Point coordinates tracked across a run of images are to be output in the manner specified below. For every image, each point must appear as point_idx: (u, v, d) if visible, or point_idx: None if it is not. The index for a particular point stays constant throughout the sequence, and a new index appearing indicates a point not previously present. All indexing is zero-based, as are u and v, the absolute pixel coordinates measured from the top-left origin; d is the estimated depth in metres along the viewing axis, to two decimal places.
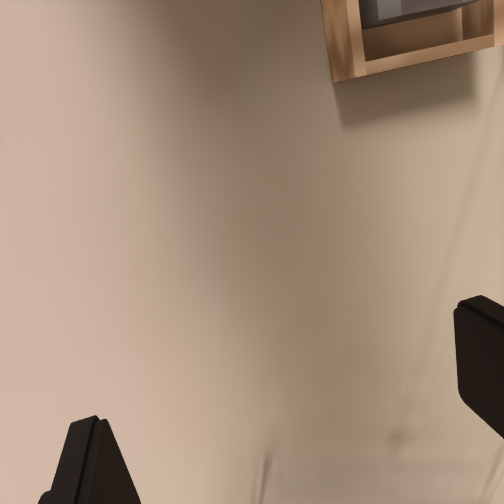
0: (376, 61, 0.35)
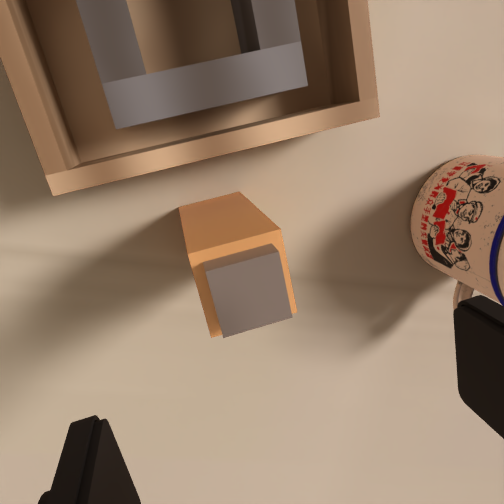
0: None
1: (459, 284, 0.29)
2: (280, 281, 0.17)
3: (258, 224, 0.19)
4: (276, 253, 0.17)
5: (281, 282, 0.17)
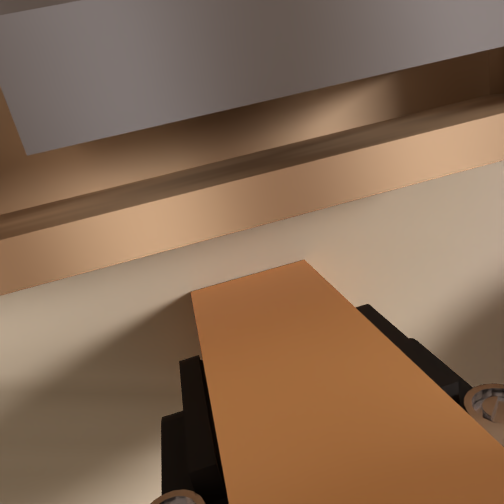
0: None
1: None
2: None
3: (443, 437, 0.06)
4: None
5: None
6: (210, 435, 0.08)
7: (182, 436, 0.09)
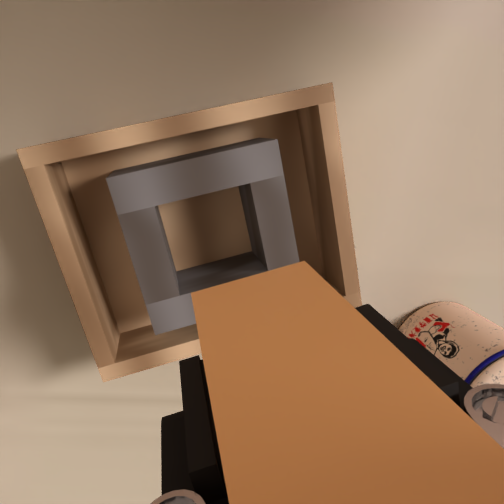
0: (47, 184, 0.22)
1: None
2: None
3: (443, 439, 0.06)
4: None
5: None
6: (210, 435, 0.08)
7: (182, 436, 0.09)
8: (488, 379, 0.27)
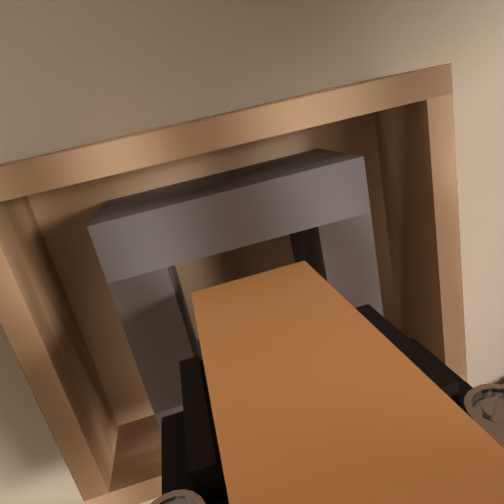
0: None
1: None
2: None
3: (444, 439, 0.06)
4: None
5: None
6: (210, 435, 0.08)
7: (182, 436, 0.09)
8: None
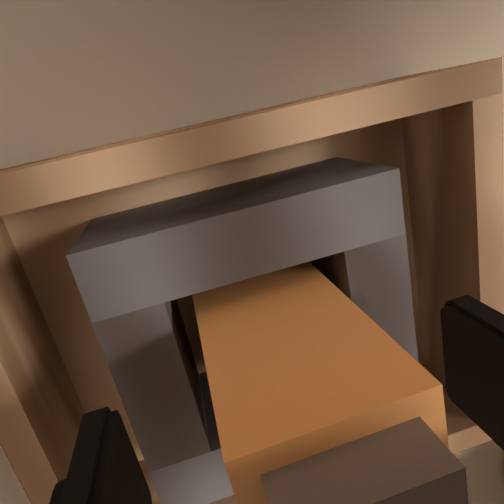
0: None
1: None
2: None
3: (369, 351, 0.09)
4: (458, 473, 0.06)
5: None
6: None
7: None
8: None
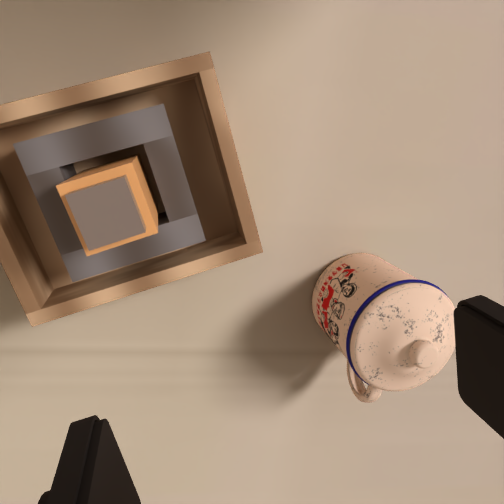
0: None
1: None
2: (129, 202, 0.21)
3: (122, 163, 0.23)
4: (122, 178, 0.21)
5: (130, 202, 0.21)
6: None
7: None
8: (373, 309, 0.30)
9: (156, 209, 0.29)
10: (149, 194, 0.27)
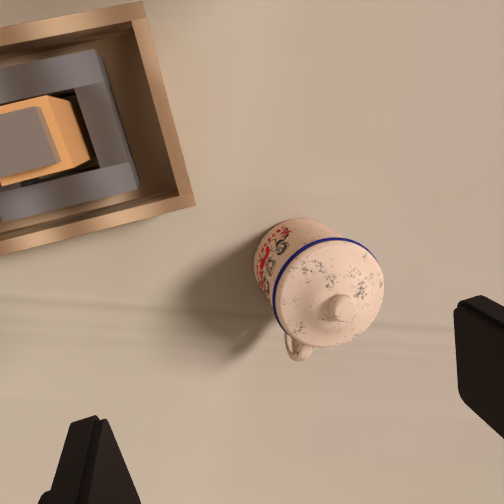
0: None
1: None
2: (40, 131, 0.22)
3: None
4: (32, 107, 0.22)
5: (41, 132, 0.22)
6: None
7: None
8: (297, 263, 0.31)
9: (88, 155, 0.30)
10: (78, 137, 0.28)
